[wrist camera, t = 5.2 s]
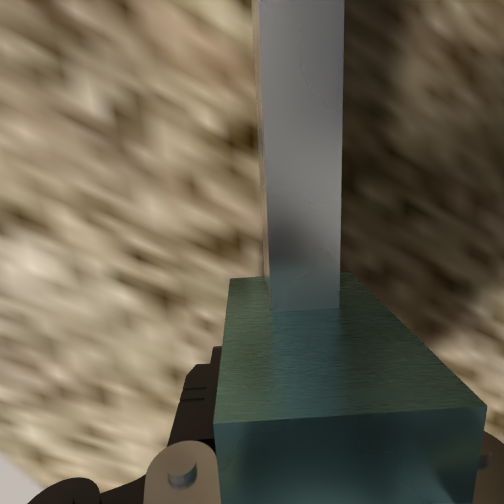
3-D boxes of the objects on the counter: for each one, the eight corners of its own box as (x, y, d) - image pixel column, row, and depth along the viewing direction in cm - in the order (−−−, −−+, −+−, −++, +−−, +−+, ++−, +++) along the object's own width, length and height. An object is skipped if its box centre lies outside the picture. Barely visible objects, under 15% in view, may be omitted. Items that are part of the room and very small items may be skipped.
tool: (196, -167, 7) (34, -1329, 2) (360, -174, 7) (759, -1332, 2) (242, 446, 11) (242, 711, 6) (345, 439, 11) (441, 695, 6)
